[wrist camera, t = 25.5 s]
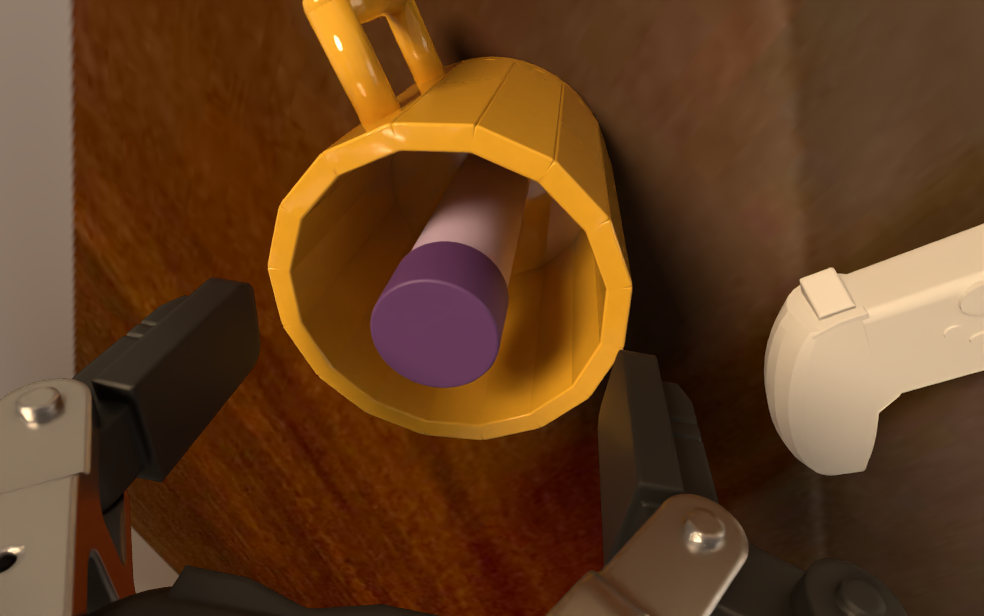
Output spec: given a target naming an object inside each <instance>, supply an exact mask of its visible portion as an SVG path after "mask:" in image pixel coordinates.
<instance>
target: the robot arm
mask: <svg viewBox="0 0 984 616" xmlns="http://www.w3.org/2000/svg"><path fill="white" fill-rule="evenodd" d="M259 351H260V334H259V327H258V319H257V312H256V305H255V297H254V291H253V288H252V287H251V285H250V284H248V283H244V282H238V281H232V280H226V279H221V278H215V277H214V278H210V279H208V280H207V281H206V282H205V283H204V284H202V285H201V286H200V287H199V288H198V289H197V290H195V291H194V292H193V293H192V294H191V295H190V296H185V295H184V296H182V297H179V298H177V299H175V300H173V301H170V302H168V303H166V304H164V305H162V306H159V307H158V308H157V309H156V310H155V311H153V312H152V313H151V314H150V315H148V316H147V317H146V318H145V319H144V320H142V324H138V325H136V326H135V327H134V328H133V329H131V330H130V331H129V332H128V333H127V336H123V337H122V338H121V339H119V340H118V341H117V342H116V343H114V344H113V345H112V346H111V347H110V348H108V349H107V350H106V351H105V352H103V353H102V354H101V355H100V356H99V357H97V358H96V359H95V360H94V361H93V362H91V363H90V364H89V365H88V366H86V367H85V368H84V369H83V370H82V371H80V372H79V373H78V374H77V375H76V376H74V377H73V378H72V379H65V378H58V379H49V380H43V381H39V382H34V383H32V384H28V385H26V386H23V387H21V388H18V389H16V390H14V391H12V392H11V393H9V394H7V395H6V396H4V397H3V398H1V399H0V616H438V615H433V614H428V613H423V612H418V611H413V610H408V609H403V608H398V607H393V606H388V605H383V604H378V605H363V606H347V607H332V608H316V609H313V608H306V607H303V606H301V605H299V604H297V603H295V602H293V601H292V600H290V599H288V598H286V597H284V596H282V595H280V594H278V593H277V592H275V591H273V590H271V589H269V588H267V587H265V586H263V585H262V584H260V583H258V582H256V581H254V580H252V579H250V578H247V577H242V576H237V575H232V574H227V573H222V572H217V571H212V570H207V569H202V568H197V567H192V566H187V565H186V566H185V568H184V569H183V571H182V572H181V574H180V576H179V577H178V579H177V580H176V582H175V583H174V585H173V586H172V587H163V588H158V589H152V590H147V591H144V592H140V593H137V594H136V593H135V587H134V582H133V581H134V580H133V563H132V542H131V519H130V499H129V494H128V492H127V488H128V487H129V485H130V484H131V483H132V482H133V481H134V480H135V478H136V477H137V478H142V479H148V480H153V481H158V482H162V481H163V480H164V479H165V477H166V476H167V475H168V474H169V472H170V471H171V470H172V469H173V467H174V466H175V465H176V464H177V462H178V461H179V460H180V459H181V457H182V456H183V455H184V454H185V452H186V451H187V450H188V449H189V447H190V446H191V445H192V444H193V442H194V441H195V440H196V439H197V437H198V436H199V435H200V434H201V432H202V431H203V430H204V429H205V427H206V426H207V425H208V424H209V422H210V421H211V420H212V419H213V417H214V416H215V415H216V414H217V412H218V411H219V410H220V409H221V407H222V406H223V405H224V404H225V402H226V401H227V400H228V399H229V397H230V396H231V395H232V394H233V392H234V391H235V390H236V389H237V387H238V386H239V385H240V384H241V382H242V381H243V380H244V379H245V377H246V376H247V375H248V374H249V372H250V371H251V370H252V369H253V367H254V365H255V364H256V361H257V359H258V356H259ZM598 446H599V468H600V490H601V511H602V533H603V554H604V568H603V569H602V570H601V571H600V572H598V573H596V572H595V571H593V570H592V571H589V572H588V573H586V574H585V575H584V576H583V577H582V578H580V579H579V580H578V581H577V582H576V584H575V585H574V586H573V587H572V588H571V589H570V590H569V591H568V592H567V593H566V594H565V595H564V596H563V597H562V598H561V599H560V601H559V602H558V603H557V604H556V605H555V606H554V607H553V608H552V609H551V610H550V611H549V612H548V613H547V614H546V615H545V616H908V615H907V613H906V611H905V609H904V607H903V606H902V604H901V603H900V601H899V600H898V599H897V597H896V596H895V595H894V594H893V593H892V592H891V590H890V589H889V588H887V587H886V586H885V585H884V584H883V583H882V582H881V581H880V580H879V579H877V578H876V577H875V576H873V575H872V574H870V573H869V572H867V571H866V570H864V569H862V568H860V567H859V566H857V565H854V564H852V563H850V562H847V561H843V560H839V559H833V558H825V559H820V560H818V561H815V562H814V563H813V564H811V565H810V566H809V568H808V569H807V570H806V571H805V570H803V569H800V568H798V567H796V566H794V565H792V564H790V563H788V562H785V561H783V560H781V559H779V558H777V557H775V556H773V555H770V554H768V553H766V552H764V551H762V550H760V549H759V548H757V547H755V546H754V545H752V544H751V543H749V542H748V540H747V537H746V534H745V532H744V530H743V528H742V527H741V525H740V524H739V522H738V521H737V520H736V519H735V517H734V516H733V515H732V514H731V513H730V512H728V511H727V510H726V509H725V508H723V507H722V506H721V505H719V502H718V498H717V494H716V491H715V487H714V483H713V479H712V476H711V472H710V468H709V464H708V460H707V457H706V453H705V449H704V445H703V442H701V434H700V430H699V426H697V419H696V415H695V411H694V408H693V404H692V402H691V400H690V399H689V398H688V396H687V395H686V394H685V393H684V391H683V390H682V389H681V387H680V386H679V385H678V384H677V383H671V382H665V381H662V380H661V375H660V370H659V365H658V360H657V357H656V356H655V355H650V354H644V353H638V352H632V351H627V350H621V349H620V350H619V351H618V353H617V356H616V358H615V362H614V365H613V368H612V371H611V375H610V378H609V381H608V384H607V388H606V391H605V394H604V397H603V401H602V404H601V408H600V413H599V421H598Z"/></svg>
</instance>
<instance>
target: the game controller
mask: <svg viewBox="0 0 984 616" xmlns="http://www.w3.org/2000/svg"><path fill="white" fill-rule="evenodd" d="M983 370H984V224H981V225H979V226H976V227H973V228H970V229H968V230H965V231H962V232H960V233H957V234H954V235H952V236H949V237H946V238H943V239H941V240H938V241H935V242H933V243H930V244H927V245H925V246H922V247H919V248H916V249H914V250H911V251H908V252H906V253H903V254H900V255H898V256H895V257H892V258H889V259H887V260H884V261H881V262H879V263H876V264H873V265H871V266H868V267H865V268H862V269H860V270H857V271H854V272H852V273H849V274H837V273H836V271H835V269H834V268H828V269H825V270H823V271H820V272H817V273H814V274H812V275H809V276H806V277H803V278H801V279H800V285H799V286H798V287H797V288H795V289H794V290H793V291H792V292H791V294H790V295H789V296H788V298H787V299H786V301H785V303H784V304H783V306H782V308H781V310H780V312H779V314H778V316H777V318H776V320H775V322H774V325H773V327H772V330H771V333H770V336H769V339H768V342H767V347H766V352H765V361H764V383H765V390H766V396H767V401H768V407H769V411H770V414H771V418H772V421H773V423H774V426H775V428H776V430H777V432H778V434H779V436H780V437H781V439H782V441H783V442H784V443H785V445H786V446H787V447H788V449H789V450H790V451H791V452H792V454H793V455H794V456H795V457H796V458H797V459H798V460H800V461H801V462H802V463H804V464H805V465H806V466H808V467H809V468H811V469H812V470H814V471H815V472H817V473H820V474H822V475H840V474H847V473H854V472H861V471H864V470H865V469H866V466H867V463H868V460H869V458H870V456H871V453H872V450H873V447H874V442H875V438H876V432H877V426H878V416H879V413H880V412H881V411H882V410H883V409H884V408H886V407H887V406H888V405H889V404H890V403H892V402H893V401H894V400H895V399H896V398H898V397H899V396H900V393H903V392H907V391H911V390H914V389H918V388H921V387H925V386H929V385H932V384H936V383H940V382H943V381H947V380H950V379H954V378H958V377H961V376H965V375H968V374H972V373H976V372H979V371H983Z"/></svg>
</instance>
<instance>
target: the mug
mask: <svg viewBox="0 0 984 616" xmlns="http://www.w3.org/2000/svg"><path fill="white" fill-rule="evenodd" d="M302 4H303V10H304V13H305V15H306V17H307V19H308V21H309V23H310V25H311V27H312V29H313V31H314V32H315V34H316V36H317V38H318V40H319V42H320V44H321V46H322V48H323V50H324V52H325V54H326V56H327V58H328V60H329V62H330V63H331V65H332V67H333V69H334V71H335V73H336V75H337V77H338V79H339V81H340V83H341V85H342V87H343V89H344V91H345V93H346V94H347V96H348V98H349V100H350V102H351V104H352V106H353V108H354V110H355V112H356V114H357V116H358V118H359V120H360V122H361V124H360V125H358V126H357V127H356V128H354V129H353V130H352V131H350V132H349V133H348V134H346V135H345V136H343V137H342V138H341V139H339V140H338V141H337V142H335V143H334V144H333V145H331V146H330V147H329V148H327V149H326V150H325V151H324V152H322V153H321V154H320V155H319V156H318V157H317V158H316V160H315V161H314V162H313V163H312V164H311V166H310V167H309V168H308V169H307V171H306V172H305V173H304V174H303V176H302V177H301V178H300V179H299V181H298V182H297V183H296V184H295V186H294V187H293V188H292V189H291V191H290V192H289V193H288V194H287V195H286V197H285V198H284V199H283V200H282V202H281V204H280V206H279V208H278V213H277V219H276V224H275V229H274V234H273V240H272V245H271V250H270V255H269V260H268V266H269V267H268V271H269V275H270V279H271V283H272V287H273V291H274V295H275V299H276V303H277V307H278V311H279V315H280V319H281V322H282V325H284V326H283V327H284V329H285V330H286V332H287V333H288V335H289V336H290V338H291V339H292V340H293V342H294V343H295V345H296V346H297V347H298V349H299V350H300V352H301V353H302V355H303V356H304V357H305V359H306V360H307V362H308V363H309V365H310V366H311V367H312V369H313V370H314V372H315V373H316V374H317V375H319V378H321V379H322V380H323V381H325V382H326V383H327V384H329V385H330V386H331V387H333V388H334V389H335V390H337V391H338V392H339V393H340V394H342V395H343V396H344V397H346V398H347V399H348V400H350V401H351V402H352V403H354V404H355V405H356V406H358V407H359V408H360V409H362V410H363V411H364V412H368V414H370V415H373V416H375V417H378V418H381V419H383V420H386V421H388V422H391V423H394V424H396V425H399V426H401V427H404V428H407V429H409V430H412V431H414V432H417V433H420V434H424V435H429V436H440V437H452V438H463V439H474V440H483V439H484V440H487V439H492V438H497V437H501V436H506V435H511V434H516V433H520V432H525V431H530V430H534V429H539V428H540V427H544V426H545V425H547V424H548V423H550V422H552V421H553V420H555V419H556V418H558V417H560V416H561V415H563V414H564V413H566V412H568V411H569V410H571V409H573V408H574V407H576V406H577V405H579V404H581V403H582V402H584V401H585V400H587V399H588V398H589V397H590V396H591V395H592V394H593V392H594V391H595V390H596V388H597V387H598V385H599V384H600V382H601V381H602V379H603V378H604V377H605V375H606V374H607V372H608V371H609V369H610V368H611V366H612V365H613V364H614V362H615V358H616V356H617V353H618V351H619V350H620V349H621V350H623V347H624V345H625V338H626V332H627V325H628V318H629V311H630V304H631V297H632V290H633V287H632V279H631V273H630V267H629V262H628V256H627V250H626V244H625V239H624V233H623V227H622V222H621V216H620V210H619V204H618V199H617V193H616V187H615V181H614V176H613V170H612V165H611V162H610V158H609V155H608V152H607V148H606V144H605V140H604V137H603V135H602V132H601V130H600V127H599V124H598V122H597V120H596V118H595V117H594V116H593V114H592V112H591V110H590V109H589V108H588V106H587V105H586V104H585V102H584V101H583V100H582V98H581V97H580V96H579V95H578V94H577V93H576V92H575V91H574V90H573V89H572V88H571V87H570V86H569V85H567V84H566V83H565V82H563V81H562V80H561V79H559V78H558V77H557V76H555V75H554V74H552V73H550V72H548V71H546V70H544V69H543V68H541V67H538V66H536V65H533V64H530V63H528V62H525V61H520V60H516V59H511V58H503V57H479V58H473V59H468V60H467V59H466V60H462V61H459V62H457V63H454V64H451V65H448V66H446V67H444V68H443V65H442V63H441V61H440V58H439V56H438V54H437V51H436V49H435V47H434V44H433V42H432V39H431V37H430V35H429V32H428V30H427V28H426V25H425V23H424V21H423V18H422V16H421V14H420V11H419V9H418V7H417V4H416V2H415V0H302ZM383 17H386V19H387V21H388V23H389V25H390V28H391V30H392V32H393V34H394V36H395V39H396V41H397V43H398V45H399V47H400V50H401V52H402V54H403V56H404V58H405V61H406V63H407V65H408V67H409V69H410V72H411V74H412V76H413V78H414V80H415V84H414V85H412V86H411V87H410V88H408V89H407V90H405V91H404V92H403V93H401V94H400V95H399V96H397V97H395V95H394V92H393V90H392V88H391V86H390V84H389V82H388V80H387V78H386V76H385V74H384V71H383V69H382V67H381V65H380V63H379V61H378V59H377V57H376V55H375V53H374V51H373V48H372V46H371V44H370V42H369V40H368V38H367V36H366V34H365V32H364V30H363V27H362V25H361V24H362V23H365V22H369V21H373V20H376V19H380V18H383ZM473 154H474V155H477V156H479V157H481V158H484V159H486V160H488V161H490V162H493V163H495V164H497V165H499V166H502V167H504V168H506V169H508V170H511V171H513V172H515V173H517V174H520V175H522V176H524V177H527V181H528V195H527V199H526V204H525V209H524V214H523V218H522V223H521V228H520V233H519V237H518V242H517V247H516V251H515V256H514V261H513V266H512V270H511V275H510V280H509V285H508V295H509V301H508V308H507V313H506V318H505V323H504V328H503V333H502V338H501V343H500V348H499V352H498V355H497V358H496V360H495V362H494V363H493V365H492V366H491V368H490V369H489V370H488V371H487V372H486V373H485V374H483V375H482V376H481V377H480V378H478V379H476V380H475V381H473V382H471V383H468V384H465V385H462V386H458V387H450V388H437V387H430V386H425V385H422V384H419V383H416V382H413V381H411V380H409V379H407V378H405V377H403V376H402V375H400V374H399V373H397V372H396V371H394V370H393V369H392V368H391V367H390V366H389V365H388V364H387V363H386V362H385V361H384V360H383V358H382V357H381V356H380V354H379V353H378V351H377V349H376V347H375V345H374V342H373V339H372V335H371V327H370V322H371V315H372V311H373V309H374V306H375V304H376V302H377V301H378V299H379V297H380V296H381V294H382V292H383V291H384V289H385V287H386V285H387V284H388V282H389V280H390V279H391V277H392V275H393V274H394V272H395V270H396V268H397V267H398V265H399V264H400V262H401V261H402V259H403V258H404V257H405V256H406V255H407V254H408V253H410V252H411V251H412V249H413V247H414V245H415V244H416V242H417V240H418V238H419V237H420V235H421V233H422V231H423V230H424V228H425V226H426V224H427V223H428V221H429V219H430V218H431V216H432V214H433V212H434V211H435V209H436V207H437V205H438V204H439V202H440V200H441V198H442V197H443V195H444V193H445V191H446V190H447V188H448V186H449V184H450V183H451V181H452V179H453V177H454V176H455V174H456V172H457V171H458V169H459V167H460V166H461V164H462V163H463V162H464V161H465V160H466V159H467V158H468V157H470V156H471V155H473Z"/></svg>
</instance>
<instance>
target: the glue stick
mask: <svg viewBox="0 0 984 616" xmlns="http://www.w3.org/2000/svg"><path fill="white" fill-rule="evenodd" d="M527 195H528V181H527V177H524V176H522V175H520V174H517V173H515V172H513V171H511V170H508V169H506V168H504V167H502V166H499V165H497V164H495V163H493V162H490V161H488V160H486V159H484V158H481V157H479V156H477V155H474V154H473V155H471V156H470V157H468V158H467V159H466V160H465V161H464V162H463V163H462V164H461V166H460V167H459V169H458V171H457V172H456V174H455V176H454V177H453V179H452V181H451V183H450V184H449V186H448V188H447V190H446V191H445V193H444V195H443V197H442V198H441V200H440V202H439V204H438V205H437V207H436V209H435V211H434V212H433V214H432V216H431V218H430V219H429V221H428V223H427V224H426V226H425V228H424V230H423V231H422V233H421V235H420V237H419V238H418V240H417V242H416V244H415V245H414V247H413V249H412V251H411V252H410V253H408V254H407V255H406V256H405V257H404V258H403V259H402V261H401V262H400V264H399V265H398V267H397V268H396V270H395V272H394V274H393V275H392V277H391V279H390V280H389V282H388V284H387V285H386V287H385V289H384V291H383V292H382V294H381V296H380V297H379V299H378V301H377V302H376V304H375V306H374V309H373V311H372V315H371V322H370V327H371V335H372V339H373V342H374V345H375V347H376V349H377V351H378V353H379V354H380V356H381V357H382V358H383V360H384V361H385V362H386V363H387V364H388V365H389V366H390V367H391V368H392V369H393V370H394V371H396V372H397V373H399V374H400V375H402V376H403V377H405V378H407V379H409V380H411V381H413V382H416V383H419V384H422V385H425V386H430V387H437V388H450V387H458V386H462V385H465V384H468V383H471V382H473V381H475V380H476V379H478V378H480V377H481V376H482V375H483V374H485V373H486V372H487V371H488V370H489V369H490V368H491V366H492V365H493V363H494V362H495V360H496V358H497V355H498V352H499V348H500V343H501V338H502V333H503V328H504V323H505V318H506V313H507V308H508V301H509V295H508V285H509V280H510V275H511V270H512V266H513V261H514V256H515V251H516V247H517V242H518V237H519V233H520V228H521V223H522V218H523V214H524V209H525V204H526V199H527Z"/></svg>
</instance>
